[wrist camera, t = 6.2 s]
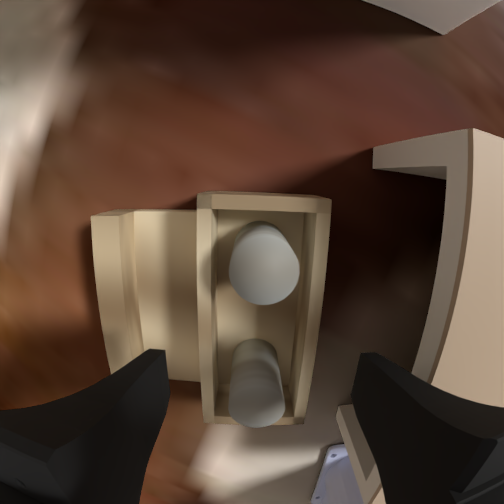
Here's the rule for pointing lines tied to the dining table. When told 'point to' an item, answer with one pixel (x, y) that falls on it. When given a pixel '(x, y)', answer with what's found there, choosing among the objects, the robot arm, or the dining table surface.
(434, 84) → the dining table surface
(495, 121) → the dining table surface
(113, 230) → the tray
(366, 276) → the dining table surface
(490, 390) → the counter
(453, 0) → the gable box
